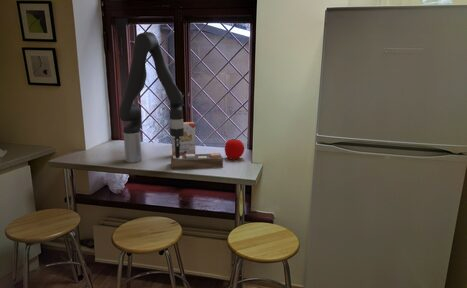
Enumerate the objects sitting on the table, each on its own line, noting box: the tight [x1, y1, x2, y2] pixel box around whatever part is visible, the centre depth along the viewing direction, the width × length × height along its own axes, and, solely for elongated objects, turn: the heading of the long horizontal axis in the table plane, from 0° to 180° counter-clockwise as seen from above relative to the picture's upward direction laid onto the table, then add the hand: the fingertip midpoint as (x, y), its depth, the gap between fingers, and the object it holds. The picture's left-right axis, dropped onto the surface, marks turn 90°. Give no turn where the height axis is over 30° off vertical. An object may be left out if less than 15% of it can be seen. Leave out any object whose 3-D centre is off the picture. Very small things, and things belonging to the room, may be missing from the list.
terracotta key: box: [209, 152, 220, 158], centre depth 191 cm, size 5×5×3 cm
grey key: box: [186, 153, 196, 159], centre depth 188 cm, size 5×5×3 cm
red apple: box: [224, 138, 245, 160], centre depth 203 cm, size 12×12×13 cm
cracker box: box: [171, 121, 196, 155], centre depth 208 cm, size 14×6×21 cm, turn 112°
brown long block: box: [170, 152, 224, 170], centre depth 189 cm, size 11×29×5 cm, turn 101°
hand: (177, 157), depth 186 cm, fingers closed
